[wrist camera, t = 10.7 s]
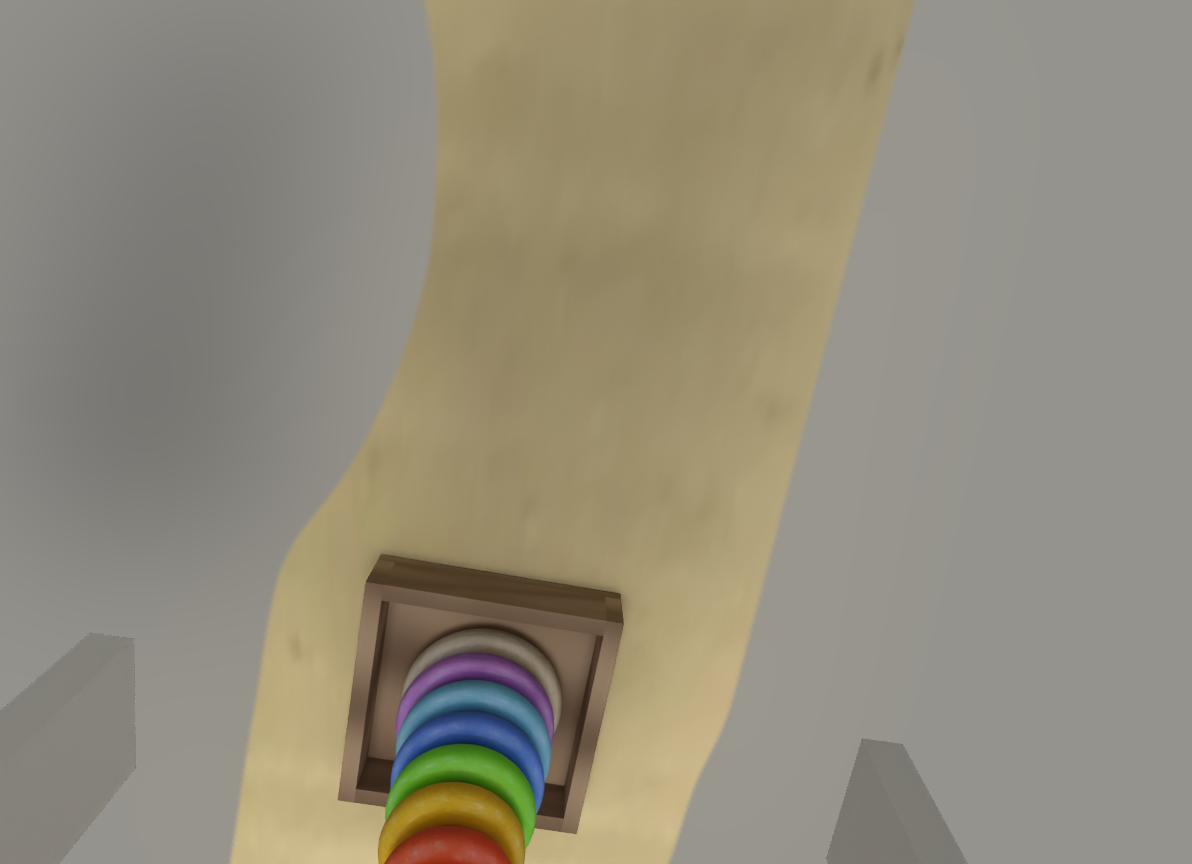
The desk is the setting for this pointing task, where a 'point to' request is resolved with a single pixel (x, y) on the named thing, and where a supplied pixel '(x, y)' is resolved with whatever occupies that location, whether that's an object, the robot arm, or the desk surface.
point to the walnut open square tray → (479, 601)
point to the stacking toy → (471, 751)
